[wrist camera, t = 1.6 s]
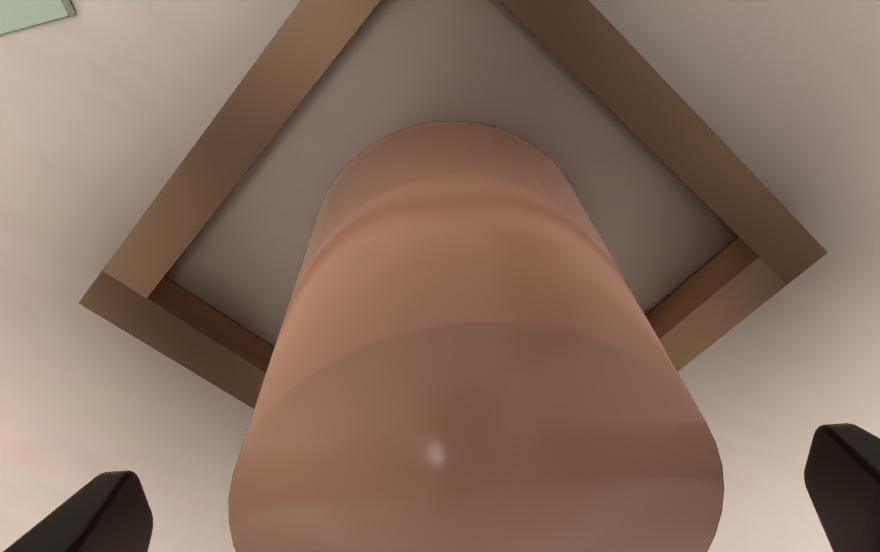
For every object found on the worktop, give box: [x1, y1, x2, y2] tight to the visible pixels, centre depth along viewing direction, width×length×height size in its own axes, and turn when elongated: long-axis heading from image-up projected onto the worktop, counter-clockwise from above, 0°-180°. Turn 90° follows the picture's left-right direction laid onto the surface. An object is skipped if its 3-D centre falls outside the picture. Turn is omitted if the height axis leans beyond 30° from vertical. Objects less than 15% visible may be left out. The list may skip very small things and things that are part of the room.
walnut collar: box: [79, 0, 827, 409], centre depth 14 cm, size 11×11×1 cm
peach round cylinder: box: [229, 121, 724, 552], centre depth 12 cm, size 7×6×8 cm
